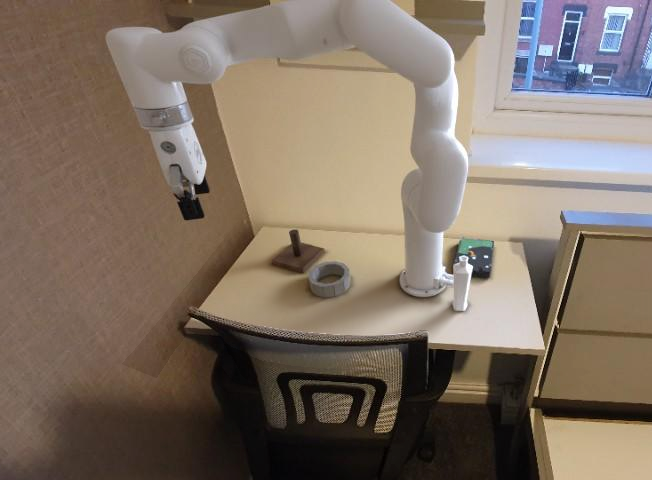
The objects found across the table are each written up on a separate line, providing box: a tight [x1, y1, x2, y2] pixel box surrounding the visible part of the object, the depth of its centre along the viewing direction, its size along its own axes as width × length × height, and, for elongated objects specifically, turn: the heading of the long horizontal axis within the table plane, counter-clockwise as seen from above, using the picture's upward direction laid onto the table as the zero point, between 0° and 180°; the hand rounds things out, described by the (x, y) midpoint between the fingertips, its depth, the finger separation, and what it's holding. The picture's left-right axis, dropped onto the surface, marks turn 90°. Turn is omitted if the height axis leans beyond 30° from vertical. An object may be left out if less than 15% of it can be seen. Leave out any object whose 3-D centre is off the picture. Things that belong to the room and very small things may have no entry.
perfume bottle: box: [451, 255, 473, 312], centre depth 94 cm, size 5×4×15 cm
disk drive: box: [453, 236, 495, 279], centre depth 113 cm, size 10×3×15 cm
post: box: [271, 229, 326, 274], centre depth 109 cm, size 10×10×9 cm
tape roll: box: [307, 260, 351, 298], centre depth 102 cm, size 10×10×4 cm
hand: (198, 205), depth 74 cm, fingers open, 9 cm apart
